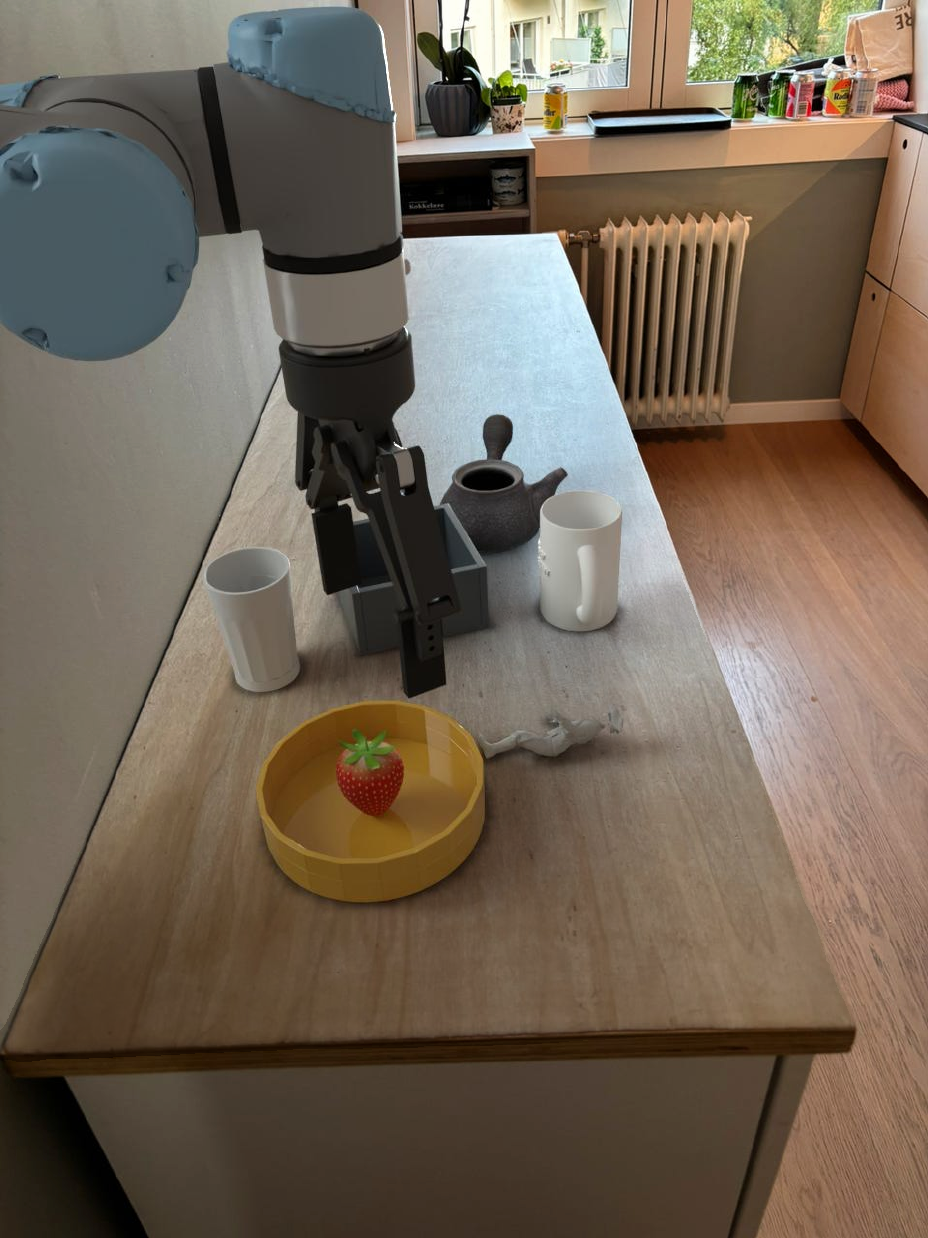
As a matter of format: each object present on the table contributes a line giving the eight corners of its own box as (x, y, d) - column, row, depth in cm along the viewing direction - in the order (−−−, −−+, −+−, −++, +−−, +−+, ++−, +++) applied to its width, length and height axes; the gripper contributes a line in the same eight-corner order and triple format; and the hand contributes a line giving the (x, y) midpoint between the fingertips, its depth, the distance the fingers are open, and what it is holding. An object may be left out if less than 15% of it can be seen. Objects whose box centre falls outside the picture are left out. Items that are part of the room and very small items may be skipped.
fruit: (351, 840, 78) (338, 768, 73) (336, 796, 82) (324, 725, 77) (415, 822, 79) (407, 750, 75) (398, 779, 83) (389, 708, 79)
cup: (322, 675, 96) (304, 573, 89) (247, 708, 93) (222, 604, 85) (286, 637, 101) (267, 537, 94) (214, 666, 98) (188, 565, 91)
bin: (360, 655, 98) (351, 594, 94) (334, 584, 109) (325, 526, 104) (489, 627, 101) (486, 566, 97) (452, 560, 112) (448, 503, 107)
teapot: (574, 554, 112) (576, 475, 106) (439, 563, 111) (433, 485, 105) (553, 477, 127) (553, 404, 121) (434, 485, 127) (429, 412, 121)
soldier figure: (481, 736, 89) (601, 681, 89) (503, 786, 89) (624, 730, 88) (474, 736, 82) (605, 675, 81) (498, 790, 81) (631, 729, 81)
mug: (549, 659, 96) (550, 556, 89) (533, 591, 106) (532, 493, 99) (632, 652, 97) (639, 548, 90) (608, 585, 106) (613, 486, 99)
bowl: (284, 930, 72) (274, 890, 69) (253, 766, 86) (244, 728, 84) (515, 866, 76) (514, 826, 73) (450, 719, 90) (447, 681, 87)
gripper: (516, 389, 47) (521, 718, 60) (323, 266, 65) (358, 539, 78) (374, 427, 45) (411, 763, 57) (214, 288, 63) (268, 567, 75)
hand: (380, 634), depth 68 cm, fingers open, 13 cm apart
